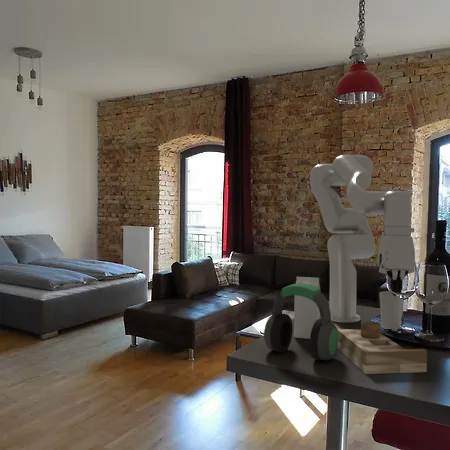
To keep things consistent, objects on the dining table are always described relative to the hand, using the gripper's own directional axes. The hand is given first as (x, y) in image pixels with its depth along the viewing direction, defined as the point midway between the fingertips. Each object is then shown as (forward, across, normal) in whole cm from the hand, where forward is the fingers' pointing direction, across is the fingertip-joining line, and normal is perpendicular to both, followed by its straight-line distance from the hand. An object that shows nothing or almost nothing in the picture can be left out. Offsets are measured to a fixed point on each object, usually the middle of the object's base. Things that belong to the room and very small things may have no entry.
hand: (396, 292), depth 138 cm
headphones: (+16, +32, +8) cm, 37 cm away
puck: (+13, +8, -1) cm, 16 cm away
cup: (+16, -6, -16) cm, 23 cm away
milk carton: (+16, +25, -10) cm, 31 cm away
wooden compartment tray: (+16, +11, +7) cm, 21 cm away
